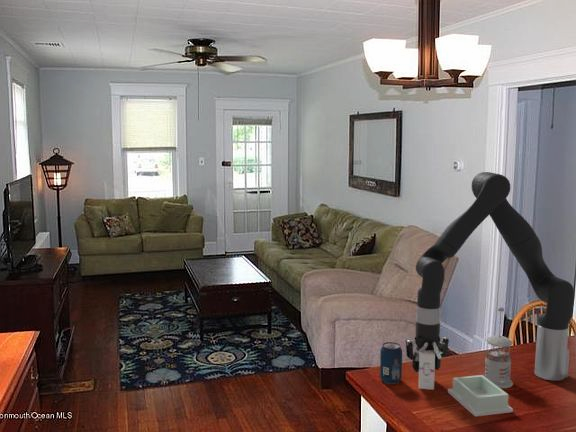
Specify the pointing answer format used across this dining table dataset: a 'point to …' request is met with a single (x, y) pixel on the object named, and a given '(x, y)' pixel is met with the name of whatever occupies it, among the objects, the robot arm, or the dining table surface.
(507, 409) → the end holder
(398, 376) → the soda can
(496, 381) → the french press
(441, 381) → the dining table surface
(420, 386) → the ink cartridge box
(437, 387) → the dining table surface
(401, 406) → the dining table surface
